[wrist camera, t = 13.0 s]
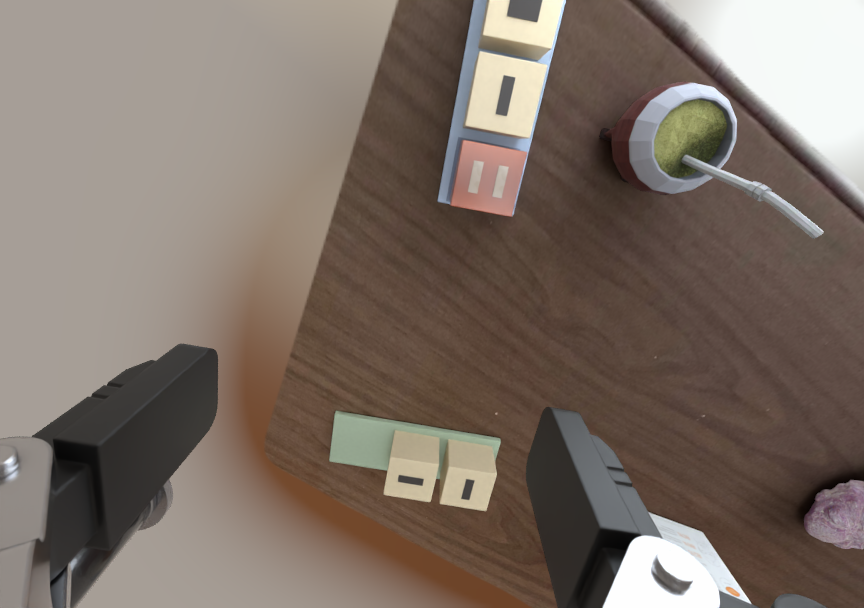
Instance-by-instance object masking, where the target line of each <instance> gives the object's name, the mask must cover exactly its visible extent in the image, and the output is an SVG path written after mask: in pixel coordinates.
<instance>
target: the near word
mask: <svg viewBox="0 0 864 608" xmlns="http://www.w3.org/2000/svg"><path fill="white" fill-rule="evenodd" d="M565 2H566V0H474V2H473V8H472V13H471V19H470V24H469V30H468V35H467V41H466V46H465V52H464V57H463V63H462V68H461V74H460V79H459V85H458V90H457V96H456V101H455V107H454V112H453V118H452V123H451V129H450V134H449V140H448V145H447V151H446V156H445V162H444V167H443V173H442V178H441V184H440V189H439V195H438V202H441V203H447V204H450V195H451V190H452V184H453V179H454V174H455V169H456V163H457V158H458V153H459V148H460V142H461V140H467V141H473V142H478V143H483V144H488V145H493V146H498V147H504V148H509V149H514V150H519V151H524V152H527V155H526V159H525V164H524V168H523V172H522V176H521V180H520V184H519V188H518V192H517V196H516V200H515V205H516V201H517V197H518V193H519V189H520V185H521V181H522V177H523V173H524V169H525V165H526V161H527V157H528V153H529V148H530V144H531V140H532V136H533V132H534V128H535V124H536V120H537V116H538V112H539V108H540V104H541V100H542V96H543V92H544V87H545V83H546V79H547V75H548V71H549V67H550V63H551V59H552V55H553V51H554V47H555V43H556V39H557V35H558V30H559V26H560V22H561V18H562V14H563V10H564V6H565ZM515 205H514V209H513V213H512V216H513V214H514V210H515Z"/></svg>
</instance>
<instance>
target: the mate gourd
mask: <svg viewBox="0 0 864 608" xmlns="http://www.w3.org/2000/svg"><path fill="white" fill-rule="evenodd" d="M736 128H737V120H736V117H735V114H734V112H733V110H732V107H731V105H730V102H729V100H728V99H727V98H725V97H724V96H723V95H722V94H721V93H719V92H718V91H717V90H716V89H715V88H713V87H710V86H705V85H701V84H696V83H689V82H678V83H673V84H669V85H664V86H660V87H656V88H655V89H653V90H651V91H649V92H648V93H646V94H645V95H643V96H642V97H641V98H639V99H638V100H636V101H635V102H633V103H632V105H631V106H630V107H629V108H628V109H627V111H626V112H625V113H624V114H623V115H622V117H621V118H620V119H619V120H618V122H617V124H616V126H615V127H614V128H612V129H606V128H604V129H602V130H601V133H600V139H603V140H607V141H611V144H612V154H613V160H614V162H615V164H616V166H617V168H618V170H619V172H620V174H621V180H622V181H624V182H627V183H630V184H631V185H632V186H634V187H635V188H636V189H638V190H640V191H645V192H650V193H655V194H660V195H667V194H674V193H679V192H684V191H689V190H693V189H695V188H696V187H698V186H700V185H701V184H703V183H705V182H706V181H708V180H710V179H711V178H713V177H714V178H716V179H718V180H721V181H723V182H725V183H727V184H730V185H732V186H734V187H736V188H739V189H741V190H743V191H745V194H747V195H749V196H751V197H753V198H755V199H756V200H758V201H760V202H761V201H763V200H764V201H765V202H767V203H769V204H770V205H771V206H773V207H774V208H776V209H777V210H779V211H780V212H781V213H782V214H784V215H785V216H786V217H787V218H789V219H790V220H791V221H792V222H794V223H795V224H796V225H797V226H798V227H800V228H801V229H802V230H803V231H805V232H806V233H807V234H808V235H809V236H811V237H812V238H813V239H814V238H817V237H818V236H820V235H821V234H822V233H823V232H824V231H823V230H821V229H820V228H819V227H818V226H817V225H815V224H814V223H813V222H812V221H810V220H809V219H808V218H807V217H805V216H804V215H803V214H802V213H800V212H799V211H798V210H797V209H795V208H794V207H793V206H792V205H790V204H789V203H788V202H786V201H785V200H783V199H782V198H780V197H779V196H778V195H776V194H774V193H773V192H771V191H772V189H771V188H769V187H767V186H765V185H763V184H761V183H758V182H756V181H754V182H750V181H748V180H745V179H743V178H740V177H738V176H735V175H733V174H730V173H728V172H726V171H723V170H721V169H720V168H721V167H722V166H723V165H724V164H725V163H726V161H727V160H728V159H729V156H730V154H731V151H732V149H733V147H734V144H735V142H736Z"/></svg>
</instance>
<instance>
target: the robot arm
mask: <svg viewBox="0 0 864 608" xmlns="http://www.w3.org/2000/svg"><path fill="white" fill-rule="evenodd" d="M217 404H218V355H217V352H216V351H215V350H214V349H211V348H205V347H199V346H193V345H187V344H178V345H177V346H175V347H174V348H173V349H171V350H170V351H169V352H167V353H166V354H165V355H163V356H162V357H161V358H159V359H158V360H157V361H154V360H150V361H147V362H145V363H142V364H140V365H137V366H134V367H132V368H129V369H126V370H125V371H124V372H122V373H121V374H119V375H118V376H117V377H115V378H114V379H112V380H111V381H110V382H108V384H107V386H105V385H104V386H102V387H101V388H100V389H98V390H97V391H96V392H94V393H93V394H92V396H91V397H87V398H86V399H84V400H83V401H81V402H80V403H79V404H77V405H76V406H74V407H73V408H71V409H70V410H69V411H67V412H66V413H64V414H63V415H61V416H60V417H59V418H57V419H56V420H54V421H53V422H51V423H50V424H49V425H47V426H46V427H44V428H43V429H42V430H40V431H39V432H37V433H36V434H35V435H33V436H32V437H8V438H2V439H0V608H76V607H77V606H78V605H79V603H80V602H81V601H82V600H83V598H84V597H85V596H86V595H87V593H88V592H89V591H90V590H91V588H92V587H93V586H94V585H95V583H96V582H97V581H98V580H99V578H100V577H101V576H102V574H103V573H104V572H105V571H106V569H107V568H108V567H109V565H110V564H111V563H112V562H113V561H114V559H115V558H116V556H118V554H119V553H120V552H121V550H122V549H123V548H124V547H125V546H126V544H127V543H128V542H129V540H130V539H131V538H132V537H133V535H134V534H135V533H136V532H137V530H138V529H139V528H140V527H141V526H142V525H143V523H144V522H145V521H146V520H147V519H148V518H149V517H150V515H151V514H152V513H153V511H154V509H155V507H156V494H157V493H158V492H159V490H160V489H161V488H162V487H163V486H164V484H165V483H166V482H167V481H168V480H169V478H170V477H171V476H172V475H173V473H174V472H175V471H176V470H177V469H178V467H179V466H180V465H181V463H182V462H183V461H184V460H185V459H186V458H187V456H188V455H189V454H190V453H191V452H192V450H193V449H194V448H195V447H196V445H197V444H198V443H199V442H200V440H201V439H202V438H203V437H204V436H205V434H206V433H207V432H208V431H209V429H210V427H211V426H212V423H213V421H214V419H215V416H216V411H217ZM526 481H527V487H528V491H529V495H530V499H531V503H532V506H533V510H534V514H535V518H536V522H537V526H538V530H539V534H540V538H541V542H542V546H543V550H544V554H545V558H546V562H547V566H548V570H549V574H550V578H551V582H552V586H553V590H554V594H555V598H556V602H557V606H558V608H759V607H757V606H755V605H752V604H750V603H748V602H745V601H743V600H741V599H738V598H736V597H733V596H731V595H729V594H726V593H724V592H722V591H720V590H718V588H717V586H716V584H715V582H714V580H713V578H712V577H711V575H710V574H709V573H708V571H707V570H706V569H705V568H704V567H703V565H702V564H701V563H700V562H699V561H698V560H696V559H695V558H694V557H693V556H692V555H691V554H689V553H688V552H687V551H685V550H684V549H682V548H681V547H679V546H677V545H676V544H674V543H672V542H670V541H667V540H665V539H663V537H662V536H661V534H660V532H659V530H658V529H657V527H656V525H655V523H654V521H653V520H652V518H651V516H650V514H649V513H648V511H647V509H646V507H645V505H644V504H643V502H642V500H641V498H640V497H639V495H638V493H637V491H636V489H635V488H634V487H632V482H631V481H630V479H629V477H628V475H627V473H625V472H624V468H623V466H622V465H621V463H620V461H619V459H618V457H617V456H616V454H615V452H614V451H613V450H612V449H611V448H610V447H609V446H608V445H607V444H606V443H604V442H603V441H602V440H601V439H600V438H599V437H598V436H594V435H590V433H589V431H588V429H587V427H586V425H585V423H584V421H583V419H582V417H581V415H580V414H579V413H578V412H575V411H570V410H564V409H558V408H552V407H546V408H545V409H544V411H543V413H542V415H541V418H540V422H539V425H538V428H537V431H536V434H535V437H534V440H533V443H532V447H531V450H530V453H529V456H528V460H527V466H526ZM770 608H827V607H825V606H824V605H822V604H820V603H818V602H816V601H814V600H812V599H809V598H806V597H804V596H800V595H797V594H783V595H780V596H779V597H777V598H776V600H775V601H774V603H773V604H772V606H771V607H770Z"/></svg>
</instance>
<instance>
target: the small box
mask: <svg viewBox="0 0 864 608" xmlns="http://www.w3.org/2000/svg"><path fill="white" fill-rule="evenodd" d="M648 513H649V512H648ZM649 514H650V516H651V518H652V520H653V521H654V523H655V525H656V527H657V529H658V530H659V532H660V534H661V536H662V537H663V539H665V540H667V541H670V542H672V543H674V544H676V545H677V546H679V547H681V548H682V549H684V550H685V551H687V552H688V553H689V554H691V555H692V556H693V557H694V558H695V559H696V560H698V561H699V562H700V563H701V564H702V565H703V567H704V568H705V569H706V570H707V571H708V573H709V574H710V575H711V577H712V578H713V580H714V582H715V584H716V586H717V588H718V590H720V591H722V592H724V593H726V594H729V595H731V596H733V597H736V598H738V599H741V600H743V601H745V602H748V603H750V604H751V602H750V601H749V599H748V598H747V596H746V595H745V594H744V592H743V591H742V589H741V588H740V586H739V585H738V583H737V582H736V580H735V579H734V577H733V576H732V574H731V573H730V572H729V570H728V569H727V567H726V566H725V564H724V563H723V561H722V560H721V558H720V557H719V556H718V554H717V553H716V551H715V550H714V548H713V547H712V545H711V544H710V542H709V541H708V539H707V538H706V537H705V535H704V533H703V532H701V531H698V530H696V529H693V528H690V527H687V526H685V525H682V524H679V523H677V522H674V521H671V520H668V519H666V518H663V517H660V516H657V515H655V514H652V513H649Z"/></svg>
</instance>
